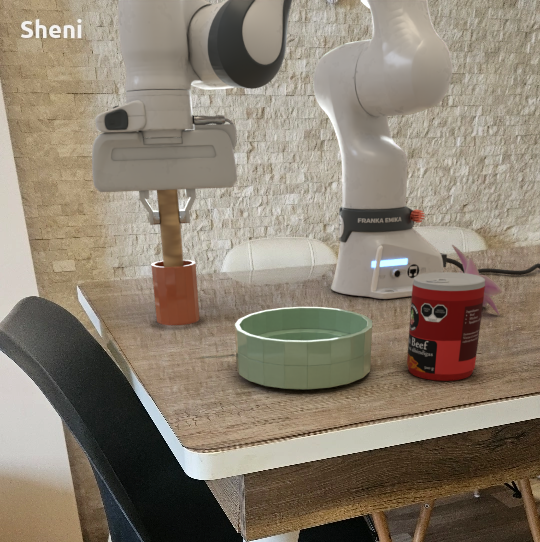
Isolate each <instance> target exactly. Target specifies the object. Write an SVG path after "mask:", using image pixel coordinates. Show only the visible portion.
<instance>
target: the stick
mask: <svg viewBox="0 0 540 542" xmlns="http://www.w3.org/2000/svg"><path fill="white" fill-rule="evenodd" d="M178 190H179V189H177V190H156V200H157V211H159V219H160V224H159V231H160V232H159V233H160V241H161V250H162V252H161V253H162V261H163V264H164V267H177V266H184V263H183V260H184V252H183V240H182V238H183V237H182V227H181V223H180V216H179V210H180V203H179V191H178Z"/></svg>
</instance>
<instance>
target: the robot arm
mask: <svg viewBox="0 0 540 542" xmlns="http://www.w3.org/2000/svg"><path fill="white" fill-rule="evenodd" d="M292 2H293V0H224V1H220V2H218V3H214V4H213V3H212V2H210V1H207V0H117V20H118V35H119V46H120V47H119V48H120V54H121V58H122V61H123V63H124V67H125V85H124V92H125V94H124V95H125V103H123V104H121V105H115V106H113V107H112V108H110V109H108V110H106V111H102V112H100V113H98V114H97V115H96V116H95V118H94V122H95V128H96V130H97V132H99V134H98V135H97V136H96V137H95V139H94V140H93V142H92V152H91V169H92V182H93V186H94V188H95V189H96V190H97V191H98V192H99V193H119V192H120V193H123V192H138V196H139V201H140V202H141V203H142V206H143V207H144V208H145V210H146V212H147V213H148V216H149V217H148V218H149V225H150V226H155V225H156V226H158V225H160V219H159V211H158V210H154V209H153V208H152V206H151V205H150V203H149V202H148V200H149V199H150V191H157V190H177V189H178V190H184V194H185V197H186V198H187V201H186V203H185V206H184V208H183V209H179V216H180V224H191V218H190V217H191V215H190V211H191V209H192V208H193V206H194V203H195V201H196V198H197V194H196V193H197V191H196V190H198V189H199V190H200V189H203V190H204V189H225V188H226V189H227V188H228V189H229V188H233V187H234V186H235V184H237V181H238V173H237V163H236V158H235V153H234V149H235V148H236V146H237V142H238V138H237V137H238V136H237V135H238V134H237V127H236V125H235V123H234V121H232V120H231V119H230V118H227V117H226V115H223V114H217V115H204V114H203V115H201V114H199V115H193V114H194V113H193V103H192V87H195V88H198V89H201V90H210V91H211V90H223V89H234V88H236V89H237V88H238V89H249V90H250V89H252V90H254V89H260V88H262V87H265V86H266V85H267V84H269V83H270V82H272V80H274V78H275V77H276V76H277V75H278V73H279V71H280V69H281V67H282V65H283V62H284V59H285V55H286V49H287V42H288V27H289V17H290V11H291V7H292ZM360 2H361V3H362V4H363V5H364V6H365V7H366V8H368V9H369V10H370V11H369V12H370V14H371V20H372V36H371V38H370V39H364V40H357V41H351V42H346V43H343V44H341V45H339V46H337V47H335V48H333V49H331V50H329V51H328V52H326V53H325V54H323V55H322V56H321V57H320V59H319V60H318V62H317V63H316V66H315V68H314V73H313V79H312V80H313V81H312V86H313V94H314V97H315V100H316V102H317V104H318V106H319V107H320V108H321V110H323V111H324V113H325V114H326V115H327V117H328V118H329V120H330V122H331V124H332V126H333V129H334V132H335V135H336V139H337V142H338V146H339V151H340V158H341V159H340V160H341V206H340V207H339V211H338V218H337V236H338V240H339V244H338V255H337V260H336V267H335V271H334V276H333V279H332V282H331V285H330V289H331V290H332V291H333V292H336V293H339V294H343V295H350V296H356V297H357V296H358V297H368V298H373V299H379V300H388V299H398V298H406V297H412V287H413V281H414V277H416V276H418V275H421V274H426V273H436V272H445V270H444V268H446V267H447V263H448V264H452V265H453V266H456V267H457V268H458V269H460V271H463V273H464V268H463V265H462V263H461V261H458V260H456V259H453V258H449V257H448V254H447V253H442V252H440V251H439V250H438V249H437V248H436V247H435V246H434V245H433V244H432V243H431V242H430V241H428V240H427V239H426V238H425V237H424V236H423V235H422V234H420V233H419V232H418V231H417V230H416V229H415V228H414V226H415V223H418V224H419V223H422V222H423V220H425V217H426V214H425V212H424V211H423V210H421V209H418V208H417V209H416V208H415V209H412V208H410V207H409V206H407V205H406V200H407V199H406V197H407V183H408V168H409V161H408V157H407V154H406V152H405V151H404V149H403V148H402V147H401V146H399V144H397V143H396V142H395V140H394V138H393V136H392V134H391V131H390V127H389V122H388V117H394V116H396V117H397V116H411V115H414V114H417V113H420V112H423V111H426V110H429V109H431V108H434V107H436V106H438V105H439V104H440V103H441V102H442V100H443V99H444V98H445V96H446V94H447V92H448V90H449V88H450V85H451V81H452V76H453V59H452V55H451V51H450V49H449V47H448V45H447V43H446V42H445V40H443V38H442V37H440V35H439V34H438V33H437V31H436V29H435V27H434V24H433V22H432V18H431V15H430V9H429V3H428V2H429V1H428V0H360ZM477 269H478V268H477ZM536 269H539V270H540V263H535V264H534V265H532V266H530V267H529V268H527V269H522V270H514V269H513V270H512V269H502V268H501V269H500V268H489V267H488V268H487V267H486V268H485V267H483V268H479V269H478V271H479V274H500V275H508V276H509V275H512V276H525V275H528V274H530V273H532V272H534V271H535V270H536Z"/></svg>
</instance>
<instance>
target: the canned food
mask: <svg viewBox="0 0 540 542" xmlns="http://www.w3.org/2000/svg"><path fill="white" fill-rule="evenodd" d="M484 290H485V279H484V278H483V277H481V276H478V275H473V274H467V273H458V272H453V271H444V272H436V273H426V274H421V275H418V276H416V277H414V281H413V287H412V296H411V297H410V299H411V301H410V313H409V329H408V343H407V344H408V345H407V357H406V365H407V369H408V372H409V373H410V374H411V375H413V376H415V377H417V378H420V379H423V380H429V381H436V382H453V381H461V380H465V379H467V378H470V377H471V375H472V374H473V372H474V370H475V368H476V362H477V353H478V346H479V338H480V330H481V324H482V323H481V322H482V316H483V307H484V306H483V300H484Z"/></svg>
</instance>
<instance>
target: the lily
mask: <svg viewBox="0 0 540 542" xmlns="http://www.w3.org/2000/svg"><path fill="white" fill-rule="evenodd" d="M451 247H452V249H453V250H454V251H455V254H456V255H457V256H458V259H459V260H460V263H461V264H462V265H463V268H464V273H467V274H473V275H478V276H481V277H483V278H484V279H485V290H484V300H483V307H486V306H488V305H489V306H490V307H491V308H492V309H493V310H494V312H495V313H496V314H497V315H498V316H499V317H500V311H499V309H498V307H497V305H496V303H495V301H494V300H493V298H492V297H494V296H497V295H501V294H502V293H503V289H502V288H501V287H500V286H499V284H497V282H496V281H494V280H493V279H492V278H491V277H489V276H487V275H484V274H480V273H479V271H478V267H477V265H476V264H475V261H474V260H473V258H471V257H468V258H467V256H466V255H465V254H464V253H463V252H462V251H461V250H460V249H459V248H458V247H457V246H455V245H454V244H451ZM457 273H463V271H461V270H459V271H458V272H457Z"/></svg>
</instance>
